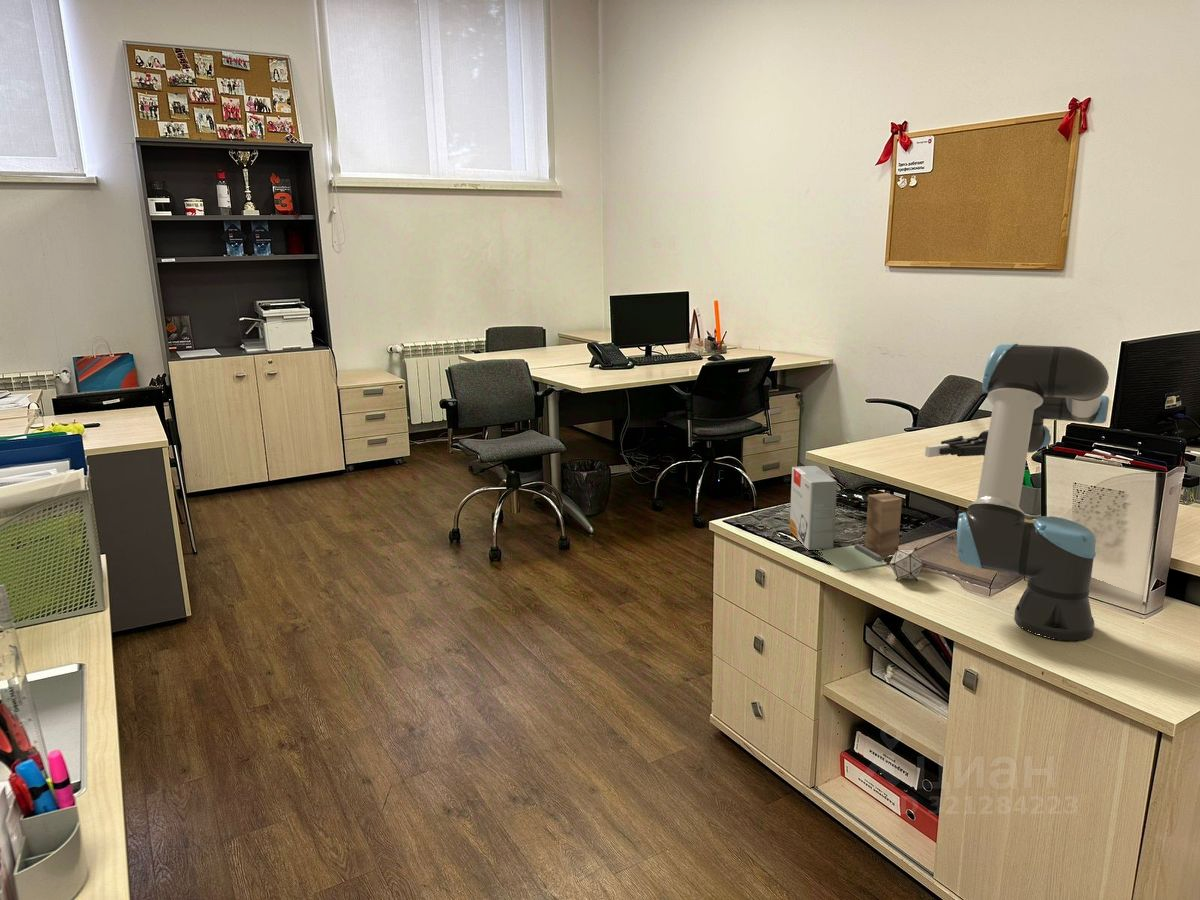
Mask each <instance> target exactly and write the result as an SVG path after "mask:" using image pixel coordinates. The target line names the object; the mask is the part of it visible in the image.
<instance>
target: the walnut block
mask: <svg viewBox="0 0 1200 900" xmlns="http://www.w3.org/2000/svg"><path fill="white" fill-rule="evenodd" d="M902 505H903V498H900V497H899V496H895V495H893V494H891V493H889V492H883V493H877V494H876V493H875V494H874V493H873V494H869V495H867V511H866V512H867V513H866V523H865V524H866V526H865V528H866V529H865V540H864V541H865V542H864V543H865V544H864V547H865V548H867V549H869V550H871V551H872V552H874V553H876V554H878V555H880V556H882V560H884V559H887V558H886V557H887V556H889V555H894V554H895V552H896V550H895V547H897V549H898V550H899V544H900V529H901V516H902Z"/></svg>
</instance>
